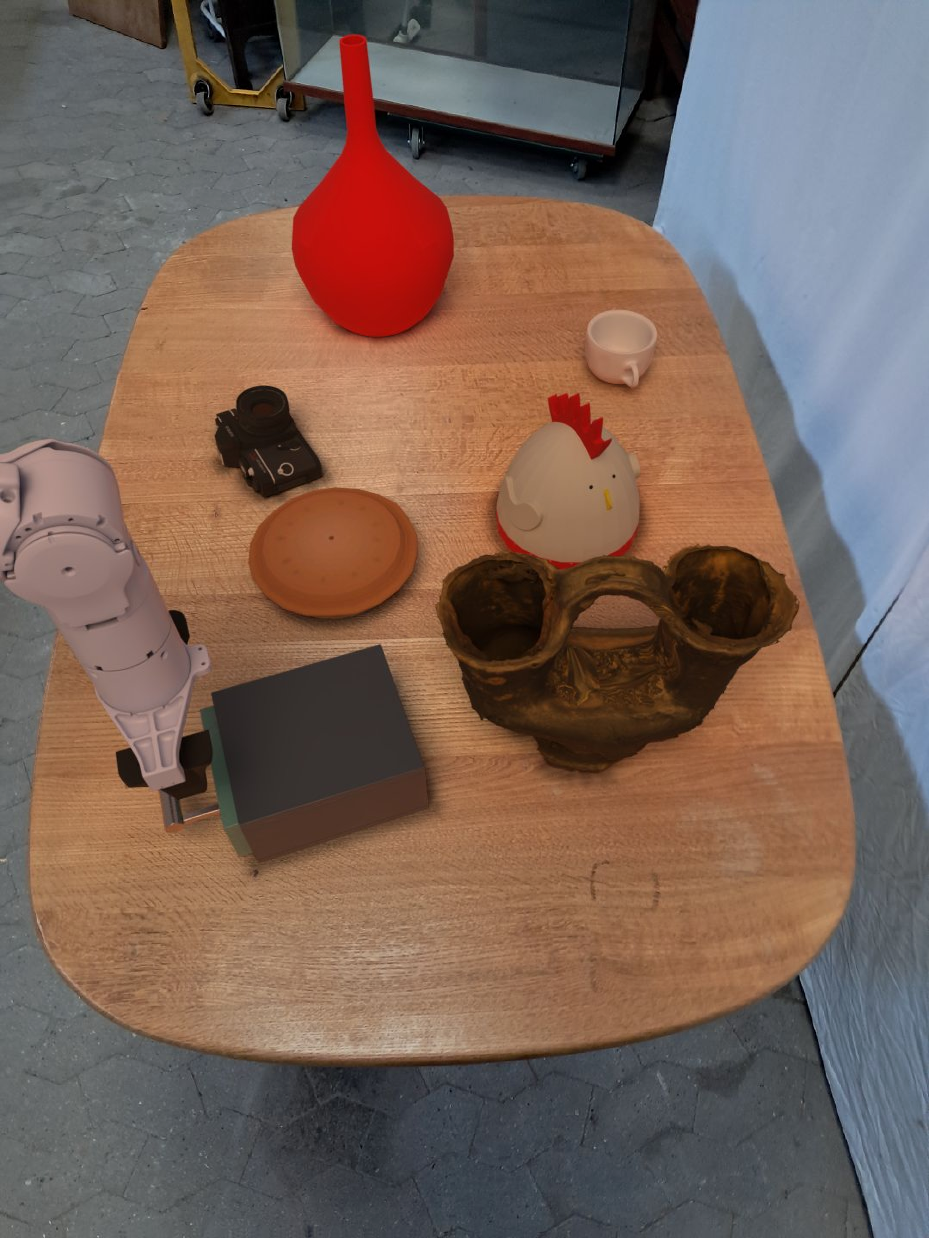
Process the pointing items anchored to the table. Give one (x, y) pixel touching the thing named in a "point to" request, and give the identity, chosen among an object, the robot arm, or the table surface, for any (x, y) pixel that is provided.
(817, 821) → the table surface
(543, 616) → the pottery vessel
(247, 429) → the film camera
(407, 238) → the vase
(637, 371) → the teacup
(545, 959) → the table surface
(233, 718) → the dark grey storage box
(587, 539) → the kitchen timer
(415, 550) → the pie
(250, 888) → the table surface
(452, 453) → the table surface
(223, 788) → the drawer
